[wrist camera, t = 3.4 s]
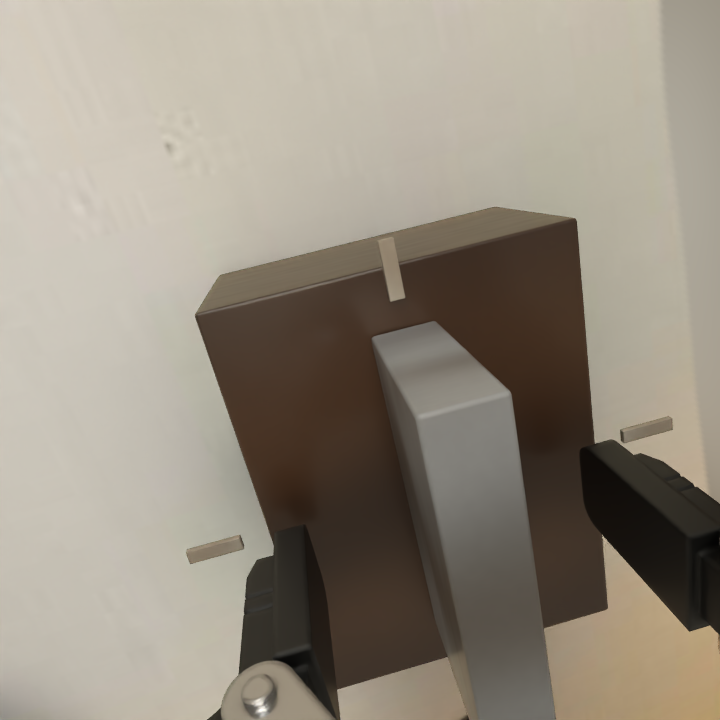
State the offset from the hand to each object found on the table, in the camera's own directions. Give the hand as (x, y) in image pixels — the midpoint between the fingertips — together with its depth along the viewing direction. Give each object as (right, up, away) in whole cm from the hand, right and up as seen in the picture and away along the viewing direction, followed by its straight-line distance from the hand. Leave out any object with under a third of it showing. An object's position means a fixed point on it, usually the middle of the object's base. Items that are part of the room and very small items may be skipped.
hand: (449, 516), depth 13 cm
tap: (0, 0, +1) cm, 1 cm away
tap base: (-1, +2, +6) cm, 6 cm away
